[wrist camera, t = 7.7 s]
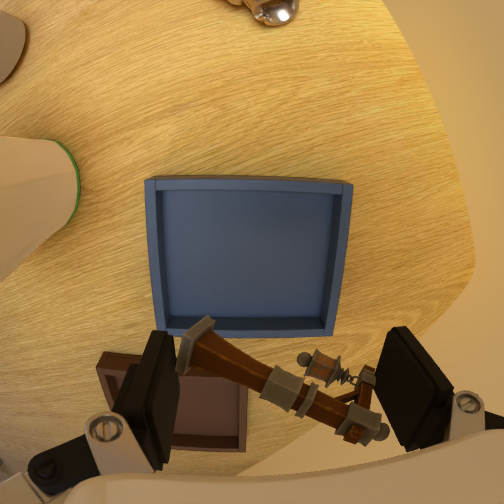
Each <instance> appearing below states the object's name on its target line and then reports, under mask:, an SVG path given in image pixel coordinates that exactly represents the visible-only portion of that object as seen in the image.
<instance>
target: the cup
mask: <svg viewBox="0 0 504 504" xmlns="http://www.w3.org/2000/svg"><path fill="white" fill-rule="evenodd" d="M79 195H80V179H79V171H78V168H77V166H76V164H75V161H74V160H73V158H72V156H71V154H70V153H69V152H68V151H67V150H66V149H65V148H64V147H63V146H62V145H61V144H60V143H59V142H56V141H53V140H47V139H37V140H35V139H27V138H18V137H9V136H0V284H1V283H2V282H3V281H4V280H5V279H6V278H7V277H8V276H9V275H10V274H11V273H12V272H13V271H14V270H15V269H16V268H17V267H18V266H19V265H20V264H21V263H22V262H23V261H24V260H25V259H26V258H27V257H28V256H29V255H30V254H31V253H32V252H33V251H35V250H36V249H37V248H38V247H39V246H40V245H41V244H42V243H43V242H44V241H46V240H47V239H48V238H49V237H50V236H51V235H52V234H53V233H55V232H56V231H58V230H59V229H61V228H62V227H64V226H65V225H66V224H67V223H68V222H69V221H70V219H71V218H72V216H73V215H74V213H75V211H76V209H77V206H78V201H79Z"/></svg>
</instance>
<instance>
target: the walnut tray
mask: <svg viewBox="0 0 504 504" xmlns="http://www.w3.org/2000/svg"><path fill="white" fill-rule="evenodd" d="M141 358H142V356H137V355H126V354H117V353H107V352H103V354H102V356H101V358H100V360H99V362H98V364H97V366H96V371H97V374H98V377H99V380H100V383H101V386H102V389H103V391H104V394H105V397H106V400H107V402H108V405H109V408H110V410H111V411H112V408H113V405H114V403H115V400H116V398H117V395H118V392H119V390H120V387H121V385H122V382H123V380H124V377H125V375H126V372H127V370H128V367H129V365H130V364H131V363H140V361H141ZM176 362H177V358H176ZM178 376H179V383H180V397H179V403H178V409H177V414H176V420H175V426H174V432H173V438H172V444H171V449H175V450H188V451H205V452H246V430H247V400H248V387H246V386H244V385H241V384H238V383H235V382H233V381H230V380H227V379H224V378H222V377H219V376H216V375H214V374H211V373H209V372H206V371H202V370H199V369H195V368H191V369H190V370H189V371H188V372H186V373H185V374H184V375H183V374H182V373H181V372H178Z"/></svg>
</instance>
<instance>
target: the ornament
mask: <svg viewBox="0 0 504 504" xmlns="http://www.w3.org/2000/svg"><path fill="white" fill-rule="evenodd" d="M228 1H229V2H230V3H231V4H234V5H241V4H242V3H243V1H244V3H245V4H246V6H247V7H248V8H250V9H251V10H252V14H253V16H254V17H255V18H256V19H257V20H258V21H264V23H265V24H267V25H270V26H276V25H282V24H285V23H287V22H289V21H290V20H291V19H293V18H294V16H295V15H296V14H297V12H298V9H299V0H284V1H282V2H281V3H278V4H276V5H268V4H264V2H267V1H270V0H228Z"/></svg>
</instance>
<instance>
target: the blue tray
mask: <svg viewBox="0 0 504 504" xmlns="http://www.w3.org/2000/svg"><path fill="white" fill-rule="evenodd" d="M144 184H145V209H146V227H147V242H148V255H149V266H150V276H151V286H152V295H153V303H154V311H155V319H156V326H157V330H159V331H168V335H173V336H177V337H182V336H183V334H184V333H185V332H186V331H187V330H189V329H190V328H191V327H193V326H194V325H195V324H196V323H198V322H199V321H200V320H202V319H203V318H204V317H206V316H207V315H209V317H210V318H211V319H213V320H216V321H215V324H214V328H213V331H214V332H216V333H217V334H218V335H219V336H220V337H222V338H295V337H321V336H324V337H325V336H333V330H334V325H335V320H336V314H337V308H338V303H339V297H340V290H341V284H342V278H343V271H344V264H345V257H346V249H347V241H348V233H349V225H350V216H351V206H352V196H353V184H350V183H348V182H345V181H342V180H332V179H317V178H300V177H278V176H247V175H167V176H153V177H150V178H148V179H146V180H144Z"/></svg>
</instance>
